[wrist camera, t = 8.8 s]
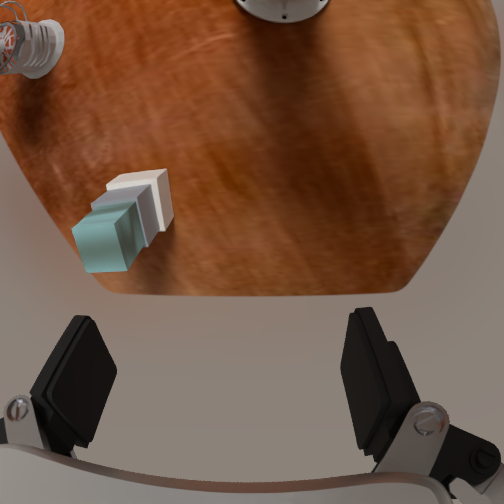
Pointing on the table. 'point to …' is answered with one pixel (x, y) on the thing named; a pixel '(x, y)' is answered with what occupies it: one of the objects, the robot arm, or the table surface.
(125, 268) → the teal pillar
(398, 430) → the robot arm
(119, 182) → the block
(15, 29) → the french press
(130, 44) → the table surface
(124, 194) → the tower top
